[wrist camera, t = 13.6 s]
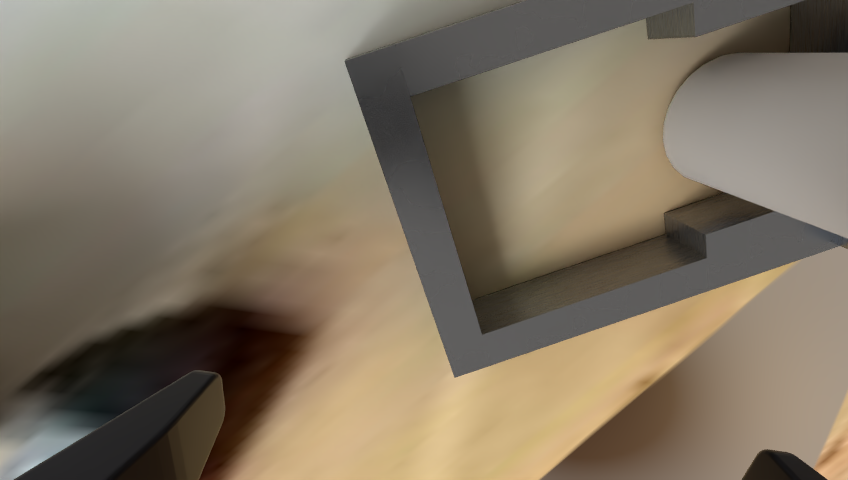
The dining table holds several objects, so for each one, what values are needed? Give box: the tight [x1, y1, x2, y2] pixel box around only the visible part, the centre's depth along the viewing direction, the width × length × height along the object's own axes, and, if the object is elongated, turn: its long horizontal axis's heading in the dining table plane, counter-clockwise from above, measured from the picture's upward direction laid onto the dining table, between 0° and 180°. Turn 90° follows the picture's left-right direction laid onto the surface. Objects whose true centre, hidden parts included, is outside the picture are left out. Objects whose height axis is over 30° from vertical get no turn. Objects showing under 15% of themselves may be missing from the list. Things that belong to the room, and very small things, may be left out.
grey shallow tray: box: [345, 0, 848, 377], centre depth 16 cm, size 18×12×4 cm
